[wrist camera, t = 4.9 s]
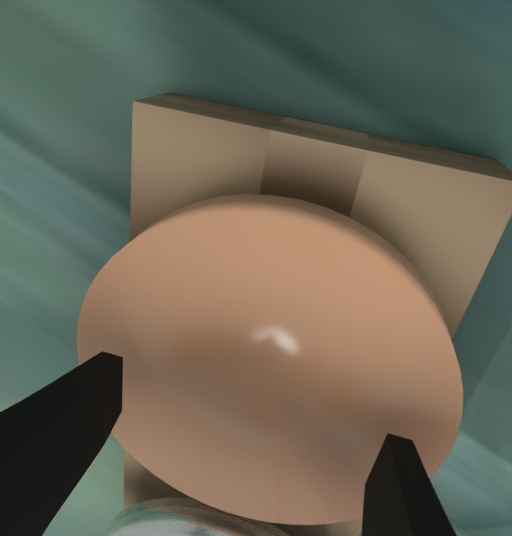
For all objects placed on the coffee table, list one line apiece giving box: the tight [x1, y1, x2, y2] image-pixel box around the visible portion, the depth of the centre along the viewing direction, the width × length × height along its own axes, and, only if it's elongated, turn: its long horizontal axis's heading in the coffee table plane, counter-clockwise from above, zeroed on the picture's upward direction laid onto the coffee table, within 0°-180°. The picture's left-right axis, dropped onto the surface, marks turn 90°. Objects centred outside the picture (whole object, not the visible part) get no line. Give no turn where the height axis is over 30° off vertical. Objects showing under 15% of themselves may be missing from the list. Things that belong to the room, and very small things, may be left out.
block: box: [124, 93, 512, 536], centre depth 21 cm, size 26×12×3 cm, turn 171°
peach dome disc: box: [77, 194, 463, 525], centre depth 14 cm, size 11×11×4 cm
